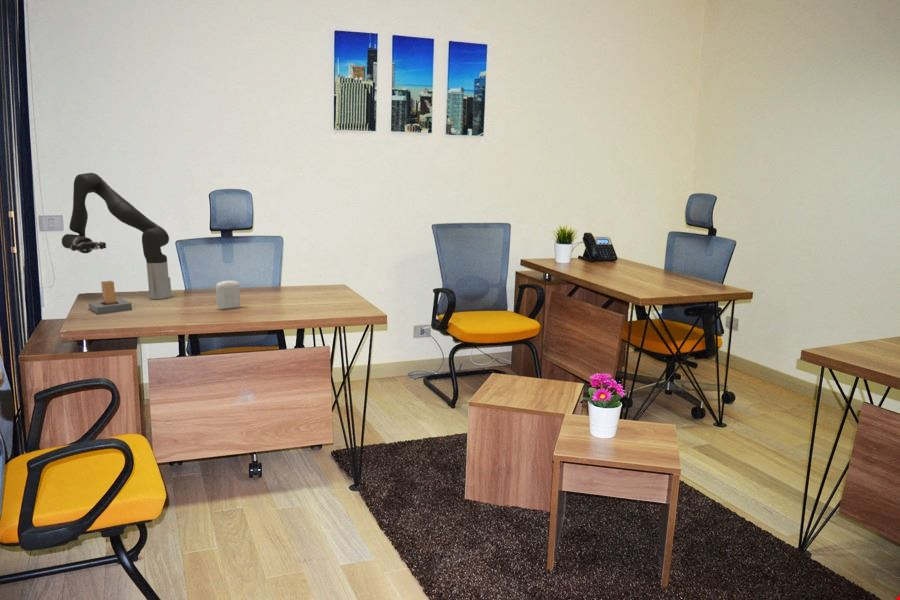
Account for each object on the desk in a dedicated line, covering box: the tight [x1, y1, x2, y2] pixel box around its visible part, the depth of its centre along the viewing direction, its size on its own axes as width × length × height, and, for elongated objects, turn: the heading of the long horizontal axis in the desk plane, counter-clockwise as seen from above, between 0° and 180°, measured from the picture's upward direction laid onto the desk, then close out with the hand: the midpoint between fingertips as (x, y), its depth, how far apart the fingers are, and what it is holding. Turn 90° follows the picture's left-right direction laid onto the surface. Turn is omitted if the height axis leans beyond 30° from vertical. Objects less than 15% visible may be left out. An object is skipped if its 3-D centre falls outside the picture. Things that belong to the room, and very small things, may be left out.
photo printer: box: [215, 280, 241, 311], centre depth 320 cm, size 10×4×12 cm, turn 123°
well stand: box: [87, 298, 133, 315], centre depth 319 cm, size 14×14×3 cm
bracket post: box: [100, 280, 117, 305], centre depth 318 cm, size 4×4×12 cm
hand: (92, 247), depth 328 cm, fingers open, 8 cm apart
